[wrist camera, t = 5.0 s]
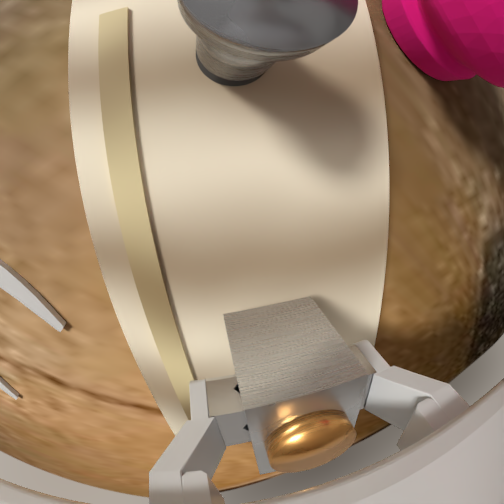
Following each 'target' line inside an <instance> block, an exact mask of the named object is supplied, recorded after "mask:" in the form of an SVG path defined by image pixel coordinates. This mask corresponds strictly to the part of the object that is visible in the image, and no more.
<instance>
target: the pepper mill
mask: <svg viewBox="0 0 504 504" xmlns="http://www.w3.org/2000/svg"><path fill="white" fill-rule="evenodd" d="M382 10H383V13H384V17H385V20H386V23H387V25H388V27H389V29H390V31H391V33H392V35H393V37H394V39H395V41H396V42H397V43H398V45H399V46H400V48H401V49H402V51H403V52H404V53H405V54H406V55H407V57H408V58H409V59H410V60H411V61H412V62H413V63H414V64H415V65H416V66H417V67H418V68H420V69H421V70H422V71H423V72H424V73H426V74H427V75H429V76H431V77H433V78H435V79H438V80H441V81H452V80H462V79H470V78H472V77H474V76H475V75H476V74H477V75H478V76H480V77H481V78H483V79H484V80H486V81H488V82H489V83H491V84H493V85H496V86H498V87H503V88H504V0H382Z"/></svg>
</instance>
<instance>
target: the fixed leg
mask: <svg viewBox="0 0 504 504" xmlns="http://www.w3.org/2000/svg"><path fill="white" fill-rule="evenodd" d="M177 1H178V7H179V10H180V13H181V16H182V17H183V19H184V21H185V23H186V24H187V25H188V26H189V28H190V29H191V30H192V31H193V32H194V33H195V34H196V51H197V55H198V58H199V60H200V62H201V63H202V64H203V66H204V67H205V68H206V69H207V70H209V71H210V72H211V73H213V74H215V75H216V76H219V77H221V78H224V79H228V80H235V81H242V80H249V79H253V78H255V77H258V76H260V75H262V74H263V73H265V72H266V71H267V70H268V69H269V68H270V67H271V66H272V65H273V64H274V63H275V62H278V61H288V60H294V59H298V58H301V57H305V56H307V55H309V54H312V53H313V52H315V51H317V50H318V49H320V48H322V47H323V46H325V45H326V44H328V43H329V42H331V41H332V40H334V39H335V38H337V37H339V36H340V35H341V34H342V33H344V32H345V31H346V30H347V29H348V28H349V26H350V25H351V24H352V22H353V20H354V19H355V16H356V13H357V9H358V0H177Z"/></svg>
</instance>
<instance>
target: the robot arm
mask: <svg viewBox="0 0 504 504" xmlns="http://www.w3.org/2000/svg"><path fill="white" fill-rule="evenodd" d="M347 346H348V347H349V348H350V350H351V351H352V352H353V354H354V355H355V356H356V358H357V359H358V360H359V362H360V363H361V364H362V366H363V367H364V369H365V370H366V371H367V373H368V379H367V383H366V387H365V391H364V395H363V399H362V403H361V406H360V409H363V408H364V409H365V410H367V411H369V412H370V413H372V414H374V415H376V416H377V417H379V418H381V419H383V420H385V421H387V422H388V423H390V424H392V425H394V426H396V427H398V428H400V429H402V430H403V431H404V432H403V434H402V436H401V437H400V439H399V441H398V443H397V446H398V447H399V449H400V451H399V452H397V453H395V454H394V455H392V456H389V457H387V458H385V459H383V460H381V461H379V462H377V463H375V464H372V465H371V466H368V467H366V468H363V469H361V470H359V471H356V472H354V473H351V474H349V475H346V476H344V477H341V478H338V479H335V480H333V481H330V482H327V483H324V484H321V485H318V486H315V487H311V488H308V489H305V490H301V491H298V492H294V493H290V494H286V495H282V496H278V497H274V498H270V499H264V500H260V501H254V502H249V503H243V504H504V379H502V380H501V381H500V382H499V383H498V384H497V385H496V386H495V387H493V388H492V389H491V390H490V391H489V392H488V393H487V394H485V395H484V396H483V397H482V398H480V399H479V400H478V401H476V402H475V403H474V404H473V405H471V406H469V405H468V404H467V403H466V402H465V400H464V399H463V398H462V397H461V396H460V395H459V394H458V393H457V392H456V391H455V390H454V388H453V387H452V386H451V385H450V384H448V383H444V382H441V381H438V380H435V379H432V378H429V377H426V376H423V375H420V374H417V373H414V372H411V371H408V370H405V369H402V368H399V367H397V366H392V367H390V366H389V364H388V363H387V362H386V361H385V360H384V359H383V357H382V356H381V355H380V354H379V353H378V352H377V350H376V349H375V348H374V347H373V346H372V345H371V343H370V342H369V341H368V340H362V341H359V342H356V343H354V344H350V345H347ZM189 392H190V411H191V420H187V421H186V422H185V424H184V425H183V426H182V428H181V429H180V431H179V432H178V433H177V435H176V436H175V438H174V439H173V440H172V442H171V443H170V445H169V446H168V447H167V449H166V450H165V451H164V453H163V454H162V456H161V457H160V458H159V460H158V461H157V462H156V464H155V465H154V466H153V468H152V469H151V470H150V472H149V503H150V504H225V502H224V498H223V497H222V495H221V494H220V492H219V491H218V490H217V488H216V487H215V485H214V484H213V482H212V481H211V479H212V477H213V475H214V473H215V470H216V468H217V466H218V464H219V462H220V460H221V458H222V456H223V454H224V451H225V449H226V446H230V445H235V444H240V443H245V442H249V441H251V437H250V433H249V429H248V425H247V421H246V416H245V412H244V408H243V404H242V399H241V395H240V391H239V387H238V382H237V378H236V374H233V375H227V376H221V377H214V378H207V379H201V380H193V381H190V383H189ZM0 504H89V503H83V502H78V501H73V500H68V499H64V498H59V497H55V496H51V495H48V494H44V493H41V492H37V491H34V490H30V489H27V488H24V487H21V486H18V485H16V484H13V483H10V482H8V481H5V480H3V479H0Z"/></svg>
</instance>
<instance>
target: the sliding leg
mask: <svg viewBox="0 0 504 504" xmlns="http://www.w3.org/2000/svg"><path fill="white" fill-rule="evenodd" d="M223 316H224V321H225V326H226V331H227V336H228V341H229V346H230V351H231V356H232V361H233V365H234V370H235V374H236V378H237V382H238V387H239V391H240V395H241V399H242V404H243V408H244V412H245V416H246V421H247V425H248V429H249V433H250V437H251V442H252V446H253V450H254V453H255V457H256V461H257V465H258V468H259V472H260V475H261V474H265V473H270V472H274V471H279V472H287V473H290V472H299V471H304V470H309V469H312V468H315V467H318V466H320V465H323V464H325V463H327V462H329V461H331V460H333V459H335V458H336V457H338V456H339V455H341V454H342V453H344V452H345V451H346V450H347V449H348V448H349V447H350V446H351V445H352V444H353V442H354V441H355V439H356V436H357V433H356V431H355V429H354V427H355V424H356V420H357V417H358V413H359V410H360V406H361V403H362V399H363V395H364V391H365V387H366V383H367V379H368V373H367V371H366V370H365V369H364V367H363V366H362V364H361V363H360V362H359V360H358V359H357V358H356V356H355V355H354V354H353V352H352V351H351V350H350V348H349V347H348V346H347V344H346V343H345V342H344V340H343V339H342V338H341V336H340V335H339V334H338V332H337V331H336V330H335V328H334V327H333V326H332V324H331V323H330V322H329V320H328V319H327V318H326V316H325V315H324V314H323V312H322V311H321V310H320V308H319V307H318V306H317V304H316V303H315V302H314V300H313V299H312V298H311V297H310V296H309V297H304V298H300V299H295V300H291V301H286V302H281V303H277V304H272V305H267V306H262V307H257V308H252V309H247V310H242V311H237V312H231V313H226V314H223Z"/></svg>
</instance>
